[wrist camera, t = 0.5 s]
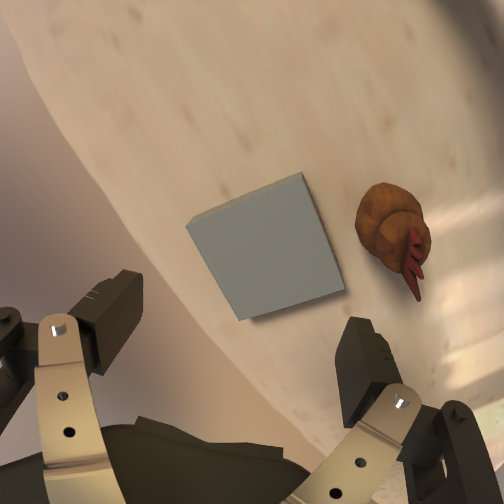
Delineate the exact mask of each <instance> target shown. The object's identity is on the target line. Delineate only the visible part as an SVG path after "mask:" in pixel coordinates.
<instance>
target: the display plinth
mask: <svg viewBox="0 0 504 504" xmlns="http://www.w3.org/2000/svg"><path fill="white" fill-rule="evenodd" d="M185 227H186V229H187V230H188V232H189V234H190V236H191V238H192V239H193V241H194V243H195V245H196V247H197V248H198V250H199V252H200V254H201V256H202V257H203V259H204V261H205V263H206V264H207V266H208V268H209V270H210V272H211V273H212V275H213V277H214V279H215V280H216V282H217V284H218V286H219V287H220V289H221V291H222V292H223V294H224V296H225V298H226V299H227V301H228V303H229V304H230V306H231V308H232V310H233V311H234V313H235V315H236V316H237V318H238V320H239V321H241V320H244V319H248V318H251V317H255V316H258V315H262V314H265V313H269V312H272V311H276V310H279V309H282V308H286V307H289V306H292V305H296V304H299V303H302V302H305V301H308V300H312V299H315V298H318V297H321V296H324V295H327V294H330V293H333V292H337V291H340V290H343V289H345V286H344V281H343V276H342V273H341V270H340V267H339V265H338V262H337V259H336V257H335V254H334V251H333V249H332V246H331V243H330V241H329V238H328V235H327V233H326V230H325V228H324V225H323V223H322V220H321V218H320V215H319V213H318V210H317V208H316V205H315V203H314V200H313V198H312V195H311V193H310V191H309V188H308V186H307V183H306V181H305V179H304V176H303V174H302V172H300V173H297V174H295V175H292V176H290V177H287V178H285V179H282V180H280V181H277V182H275V183H272V184H270V185H267V186H265V187H262V188H260V189H258V190H255V191H253V192H250V193H248V194H246V195H243V196H241V197H238V198H236V199H234V200H231V201H229V202H227V203H224V204H222V205H220V206H217V207H215V208H213V209H210V210H208V211H206V212H204V213H201V214H199V215H197V216H195V217H193V218H192V220H191V221H190V222H189V223H188V224H187V225H186V226H185Z"/></svg>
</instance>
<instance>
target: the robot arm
mask: <svg viewBox="0 0 504 504" xmlns="http://www.w3.org/2000/svg"><path fill="white" fill-rule="evenodd" d="M142 313H143V275H142V274H141V273H137V272H133V271H129V270H125V269H123V270H122V271H121V272H120V273H119V274H118V275H117V276H116V277H115V278H114V279H110V278H109V279H107V280H104V281H102V282H100V283H98V284H97V285H96V286H95V287H94V288H93V289H92V290H91V291H90V292H89V293H88V294H86V297H83V298H82V299H81V300H80V301H79V302H78V303H77V304H76V305H75V306H74V307H73V308H72V309H71V310H70V311H69V312H68V313H67V314H61V313H59V314H53V315H50V316H47V317H46V318H44V319H43V320H42V321H41V322H40V324H35V323H27V322H22V318H21V314H20V312H19V311H18V310H17V309H15V308H13V307H2V308H0V360H1V363H2V365H3V366H2V367H1V368H0V436H1V434H2V432H3V431H4V429H5V428H6V426H7V424H8V423H9V421H10V420H11V418H12V417H13V415H14V414H15V412H16V410H17V409H18V407H19V406H20V405H21V403H22V402H23V400H24V399H25V397H26V396H27V394H28V393H29V392H30V390H31V389H32V387H33V386H34V384H35V391H36V404H37V415H38V424H39V432H40V439H41V446H42V452H39V453H36V454H34V455H31V456H29V457H25V458H23V459H20V460H17V461H14V462H11V463H8V464H5V465H2V466H0V504H367V503H368V501H369V500H370V499H371V497H372V496H373V494H374V493H375V491H376V490H377V488H378V487H379V485H380V484H381V482H382V481H383V479H384V478H385V476H386V475H387V473H388V472H389V470H390V468H391V467H392V465H393V463H394V462H395V460H396V461H400V462H403V466H404V473H405V480H406V487H407V495H408V503H409V504H504V503H503V499H502V496H501V492H500V489H499V485H498V482H497V479H496V475H495V472H494V469H493V466H492V463H491V460H490V457H489V454H488V451H487V448H486V445H485V442H484V440H483V437H482V434H481V432H480V429H479V426H478V424H477V421H476V419H475V416H474V414H473V412H472V411H471V409H470V408H469V407H468V406H467V405H465V404H464V403H462V402H460V401H456V400H451V401H447V402H446V403H445V404H444V405H443V406H442V408H441V409H436V408H433V407H429V406H426V405H423V404H421V399H420V397H419V395H418V394H417V393H416V392H415V391H414V390H413V389H412V388H410V387H408V386H406V385H404V384H403V382H402V379H401V376H400V374H399V371H398V368H397V365H396V363H395V361H394V357H393V355H392V353H391V350H390V347H389V344H388V342H387V341H386V340H385V339H384V338H383V337H382V335H381V334H379V333H375V331H374V328H373V326H372V323H371V320H370V319H365V318H359V317H352V316H351V317H350V318H349V320H348V322H347V325H346V327H345V330H344V332H343V335H342V337H341V340H340V342H339V345H338V347H337V350H336V355H335V367H336V373H337V380H338V387H339V394H340V401H341V409H342V416H343V424H344V428H352V429H351V430H350V432H349V433H348V434H347V435H346V436H345V438H344V439H343V440H342V441H341V442H340V443H339V445H338V446H337V447H336V448H335V449H334V450H333V451H332V452H331V454H330V455H329V456H328V457H327V458H326V459H325V460H324V461H323V462H322V463H321V464H320V466H319V467H318V468H317V469H316V470H315V471H314V472H313V473H312V474H311V473H310V472H309V471H307V470H306V469H304V468H303V467H302V466H300V465H298V464H296V463H294V462H292V461H290V460H288V459H285V458H283V448H280V447H274V446H266V445H259V444H254V443H247V442H245V443H208V442H205V441H203V440H200V439H198V438H196V437H194V436H192V435H190V434H188V433H186V432H184V431H182V430H180V429H178V428H176V427H174V426H171V425H168V424H164V423H161V422H157V421H154V420H151V419H148V418H144V417H141V416H138V418H137V420H136V423H135V424H134V425H132V424H118V425H110V426H106V427H102V428H101V426H100V422H99V418H98V415H97V411H96V407H95V403H94V400H93V395H92V391H91V387H90V383H89V376H90V375H91V373H92V372H93V373H96V374H99V375H101V376H103V375H104V374H105V372H106V370H107V369H108V368H109V366H110V364H111V363H112V362H113V360H114V359H115V357H116V356H117V354H118V353H119V351H120V350H121V348H122V347H123V345H124V344H125V342H126V341H127V339H128V338H129V336H130V335H131V334H132V332H133V331H134V329H135V328H136V326H137V325H138V323H139V322H140V320H141V317H142ZM443 459H444V460H445V464H446V468H447V477H446V478H445V473H444V469H443V465H442V460H443Z"/></svg>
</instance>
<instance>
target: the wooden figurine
mask: <svg viewBox="0 0 504 504" xmlns="http://www.w3.org/2000/svg"><path fill="white" fill-rule="evenodd" d="M423 220H424V219H423V213H422V209H421V205H420V203H419V202H418V201H417V200H416V198H415V197H414V196H413V195H412V194H411V193H409V192H408V191H406V190H404V189H402V188H400V187H399V186H396V185H392V184H388V183H384V182H383V183H380V184H377V185H374V186H372V187H371V188H370V189H369V190H368V191H367V192H366V194H365V195H364V197H363V198H362V200H361V203H360V205H359V208H358V211H357V216H356V221H355V229H356V231H357V234H358V237H359V239H360V242H361V243H362V245H363V246H364V247H365V248H366V249H367V250H368V251H369V252H370V253H371V254H372V255H374V256H376V257H378V258H380V260H381V261H382V262H383V264H384V265H385V266H386V267H387V268H389V269H390V270H392V271H394V272H396V273H402V275H403V277H404V279H405V281H406V282H407V284H408V286H409V287H410V289H411V291H412V293H413V294H414V296H415V298H416V300H417V301H418V302H420V301H421V296H420V291H419V287H418V283H417V278H416V275H417V276H418V277H419V278H420V279H424V275H423V272H422V270H421V267H420V266H421V265H422V264H423V263H424V262H425V260H426V259H427V257H428V254H429V252H430V248H431V237H430V232H429V228H428V227H427V225H426V224H425V222H424V221H423Z"/></svg>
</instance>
